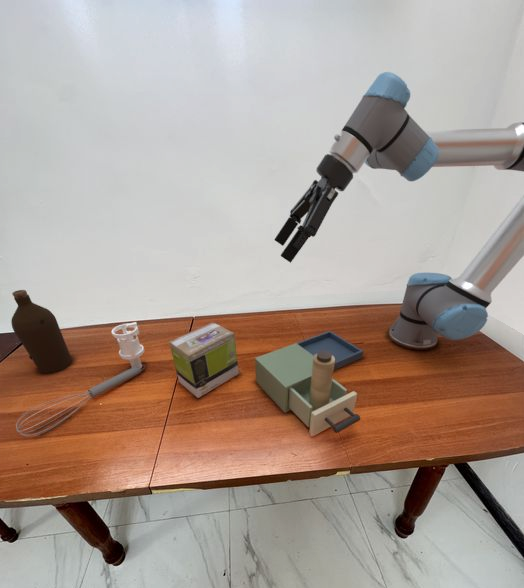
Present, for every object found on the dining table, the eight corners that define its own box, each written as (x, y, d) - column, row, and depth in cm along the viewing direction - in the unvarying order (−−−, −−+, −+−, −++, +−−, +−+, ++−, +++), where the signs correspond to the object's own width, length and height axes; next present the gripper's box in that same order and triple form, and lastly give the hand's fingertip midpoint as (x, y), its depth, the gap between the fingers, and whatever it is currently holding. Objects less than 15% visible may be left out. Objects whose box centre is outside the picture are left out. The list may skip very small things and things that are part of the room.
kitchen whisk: (151, 372, 90) (146, 355, 87) (29, 447, 68) (16, 429, 64) (139, 365, 93) (134, 349, 90) (19, 436, 71) (6, 417, 67)
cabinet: (326, 392, 81) (330, 367, 76) (284, 413, 75) (285, 387, 70) (295, 366, 91) (296, 342, 87) (255, 382, 86) (254, 357, 81)
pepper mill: (319, 398, 76) (325, 346, 68) (332, 409, 73) (340, 356, 64) (304, 405, 74) (308, 352, 66) (317, 417, 71) (323, 363, 62)
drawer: (366, 425, 70) (371, 404, 66) (325, 449, 64) (328, 428, 61) (317, 384, 83) (319, 365, 79) (279, 401, 77) (279, 381, 73)
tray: (329, 336, 106) (329, 330, 104) (362, 357, 94) (363, 351, 93) (289, 351, 98) (289, 345, 97) (320, 376, 87) (320, 369, 86)
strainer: (150, 369, 92) (138, 327, 83) (127, 377, 89) (112, 334, 81) (145, 358, 97) (133, 317, 89) (123, 365, 94) (108, 323, 86)
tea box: (219, 361, 94) (213, 320, 86) (239, 375, 88) (236, 332, 80) (178, 383, 86) (167, 340, 78) (197, 400, 80) (188, 355, 72)
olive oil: (80, 354, 99) (49, 284, 86) (64, 374, 91) (26, 298, 77) (48, 356, 99) (12, 285, 85) (29, 375, 90) (-16, 300, 77)
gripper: (314, 151, 71) (265, 229, 80) (346, 152, 50) (274, 257, 59) (337, 171, 73) (287, 244, 83) (376, 180, 53) (303, 276, 62)
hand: (281, 250), depth 71 cm, fingers open, 13 cm apart
